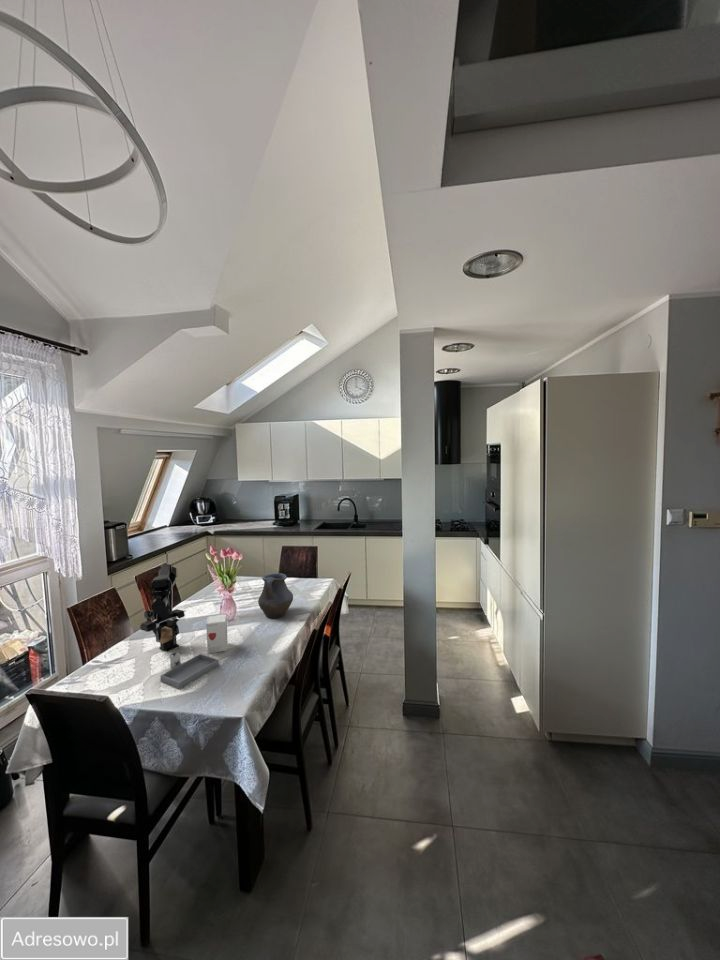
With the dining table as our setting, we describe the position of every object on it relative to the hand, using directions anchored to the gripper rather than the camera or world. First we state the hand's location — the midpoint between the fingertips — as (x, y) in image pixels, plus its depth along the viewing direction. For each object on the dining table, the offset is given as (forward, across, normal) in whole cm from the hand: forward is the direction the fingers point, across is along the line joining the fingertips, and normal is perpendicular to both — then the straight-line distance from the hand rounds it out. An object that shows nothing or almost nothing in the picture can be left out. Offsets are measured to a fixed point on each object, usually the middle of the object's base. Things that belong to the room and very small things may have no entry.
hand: (164, 637), depth 179 cm
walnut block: (+1, 0, 0) cm, 1 cm away
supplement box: (+11, -19, +13) cm, 26 cm away
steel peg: (+11, +2, +10) cm, 15 cm away
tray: (+11, +2, +20) cm, 23 cm away
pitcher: (+11, -62, +13) cm, 64 cm away
